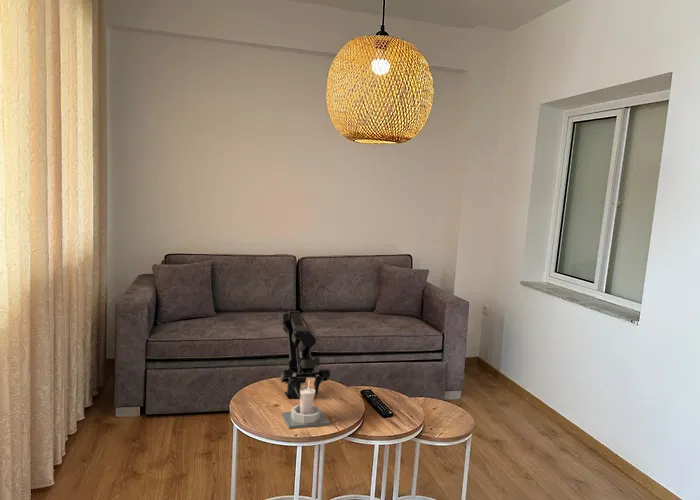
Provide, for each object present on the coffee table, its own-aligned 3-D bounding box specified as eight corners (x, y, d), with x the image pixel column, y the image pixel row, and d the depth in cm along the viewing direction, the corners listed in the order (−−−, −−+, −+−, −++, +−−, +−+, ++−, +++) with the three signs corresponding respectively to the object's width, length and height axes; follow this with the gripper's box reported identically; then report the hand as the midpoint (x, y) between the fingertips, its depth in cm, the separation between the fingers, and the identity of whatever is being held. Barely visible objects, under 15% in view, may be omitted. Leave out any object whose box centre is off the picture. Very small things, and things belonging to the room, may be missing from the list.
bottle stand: (281, 415, 200) (281, 405, 200) (320, 411, 206) (320, 402, 206) (289, 428, 189) (289, 418, 188) (330, 424, 195) (330, 414, 195)
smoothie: (303, 419, 193) (306, 383, 191) (293, 413, 198) (296, 377, 196) (316, 415, 197) (320, 380, 196) (306, 409, 202) (309, 375, 200)
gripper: (284, 349, 196) (287, 388, 186) (331, 349, 201) (336, 387, 192) (279, 362, 204) (282, 400, 195) (324, 361, 210) (329, 398, 200)
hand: (307, 396), depth 195 cm, fingers closed on smoothie, 6 cm apart
